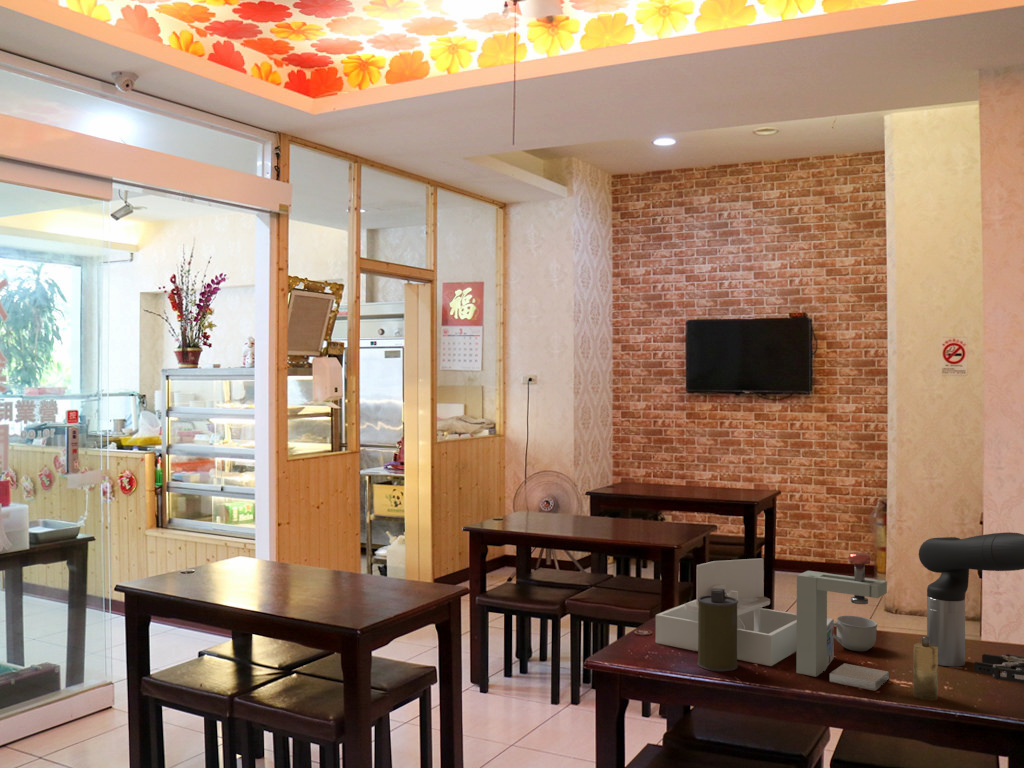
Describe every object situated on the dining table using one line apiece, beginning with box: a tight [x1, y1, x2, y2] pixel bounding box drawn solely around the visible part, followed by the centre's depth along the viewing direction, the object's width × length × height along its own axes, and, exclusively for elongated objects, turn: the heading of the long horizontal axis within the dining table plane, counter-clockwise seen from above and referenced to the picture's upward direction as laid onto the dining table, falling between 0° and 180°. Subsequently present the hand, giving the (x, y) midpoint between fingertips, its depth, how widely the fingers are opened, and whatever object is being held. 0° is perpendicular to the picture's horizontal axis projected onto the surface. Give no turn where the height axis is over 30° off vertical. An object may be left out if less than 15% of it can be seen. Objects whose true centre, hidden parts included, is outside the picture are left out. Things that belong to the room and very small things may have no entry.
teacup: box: [834, 614, 878, 652], centre depth 254 cm, size 14×11×8 cm
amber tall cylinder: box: [913, 635, 939, 701], centre depth 214 cm, size 5×5×14 cm
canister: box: [696, 588, 739, 672], centre depth 237 cm, size 11×10×20 cm
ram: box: [848, 552, 871, 605], centre depth 226 cm, size 5×5×12 cm
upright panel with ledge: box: [684, 557, 771, 632], centre depth 258 cm, size 28×21×23 cm
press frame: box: [795, 570, 888, 678], centre depth 228 cm, size 8×20×25 cm, turn 52°
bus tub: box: [655, 599, 797, 667], centre depth 258 cm, size 27×34×8 cm
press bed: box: [829, 663, 890, 692], centre depth 225 cm, size 11×11×2 cm
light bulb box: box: [827, 617, 835, 667], centre depth 242 cm, size 11×7×11 cm, turn 151°
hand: (978, 662), depth 207 cm, fingers open, 8 cm apart
